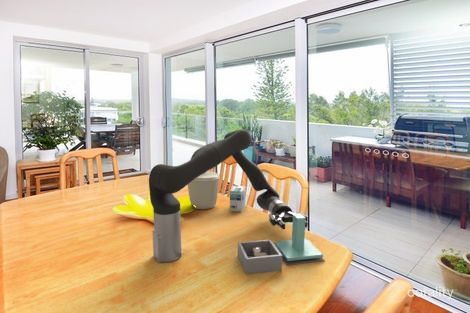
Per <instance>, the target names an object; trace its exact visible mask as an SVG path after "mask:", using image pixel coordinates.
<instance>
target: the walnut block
mask: <svg viewBox="0 0 470 313" xmlns="http://www.w3.org/2000/svg"><path fill="white" fill-rule="evenodd" d="M260 256H267V254H266V253H255V254H254V257H260Z"/></svg>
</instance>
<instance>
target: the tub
mask: <svg viewBox="0 0 470 313" xmlns="http://www.w3.org/2000/svg"><path fill="white" fill-rule="evenodd" d="M254 246H259V247H261V253H266V254H267V256H260V257H252V253H253V247H254ZM237 257H238V259H239V261H240V264H241V266H242V268H243V271H244V273H245V275H253V274H262V273H263V274H264V273H271V272H280V271H281V272H282V271H283V260H282V254H281V253H280V252H279V250H278V249H277V248H276V245H275V244H274V242H273V241H272V239H260V240H259V239H258V240H248V241H242V242H241V241H238V242H237Z"/></svg>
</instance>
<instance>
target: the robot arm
mask: <svg viewBox="0 0 470 313" xmlns="http://www.w3.org/2000/svg"><path fill="white" fill-rule="evenodd" d="M251 145H252V135H251V133H250V131H248V130H247V129H244V128H239V129H236V130H233V131H230V132H228V133H226V134H225V135H224V136H223V138H222V139H219V140H216V141H213V142H210V143H208V144H206V145H203V146H201V147H199V148H198V149H196V150H195V151H193V153H192V156H191V157H190V159H189V160H188V161H186V162H184V163H182V164H178V165H175V166H173V165H169V164H162V163H160V164H157V165H154V166H153V167H152V168H151V170H150V172H149V176H148V177H149V178H148V187H149V189H148V190H149V198H150V199H149V200H150V204H151V205H152V208H153V230H152V232H151V233H152V251H153V253H152V254H153V258H155V259H156V261H157V262H158V263H169V262H175V261H177V260H179V259H180V258H181V257H182V226H181V222H182V220H181V203H180V200H179V199H178V198H176V196H175V195H174V194H176V193H179V192H180V191H181V190H182V189H184V188H185V187H186V186H188V184H189V183H190V182H191V181H193V180H194V179H195V178H197V177H198V176H200V175H202V174H203V173H205V172H207V171H210V170H212V169H214V168H216V167H217V166H219V165H220V164H222V163H223V162H225V161H226V160H227V159H229V158H231V157H232V158H233V159H234V161H235V162H236V163H237V165H239V167H240V168H241V169H242V171H243V172H244V174H245V176H246V177H247V179H248V181H249V183H250V184H251V187H252V188H253V189H254V191H256V192H261V191H264V190H266V191H264V192H261V193H260V194H259V195H257V197H256V203H257V205H258V206H259V207H260V208H261V209H262V210H264V211H268V212H269V214H268V221H269V222H270V224H271V226H274V227H275V226H278V227H279V228H280V229H282V230H285V229H286V223H291V224H293V214H296V213H295V212H293V209H292V208H291V207H290V206H289V205H288V204H287V203H285V202H284V201H282V200H281V199H280V195H279V193H278V191H277V190H276V189H274V188H273V186H271V184H270V183H269V182H268V181H267V178H266V177H265V174H264V173H263V171H262V169H261V168H260V167H259V166H258V165H257V164H255V163H254V162H253V161H251V160H250V159H249V158H248V157H247V156H246V155H245V153H244V151H245V150H247V149H248V148H249V147H250V146H251ZM298 214H301V215H303V216H304V217H305V229H306V228H307V227H308V225H309V224H308V220H309V216H308V215H306V214H305V213H304V212H301V211H299V212H298Z"/></svg>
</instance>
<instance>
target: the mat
mask: <svg viewBox="0 0 470 313" xmlns="http://www.w3.org/2000/svg"><path fill="white" fill-rule="evenodd" d="M276 248H277V247H276ZM277 249H278V248H277ZM278 250H279V249H278ZM279 252H280V251H279ZM280 253H281V252H280ZM281 254H282V253H281ZM282 262H283V263H284V264H285V265H286V266H293V265H301V264H302V265H303V264H304V265H305V264H313V263H322V262H326V259H324V258H323V257H320V258H311V259H302V260H292V261H287V260H286V258H285V257H284V256H283V255H282Z"/></svg>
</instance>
